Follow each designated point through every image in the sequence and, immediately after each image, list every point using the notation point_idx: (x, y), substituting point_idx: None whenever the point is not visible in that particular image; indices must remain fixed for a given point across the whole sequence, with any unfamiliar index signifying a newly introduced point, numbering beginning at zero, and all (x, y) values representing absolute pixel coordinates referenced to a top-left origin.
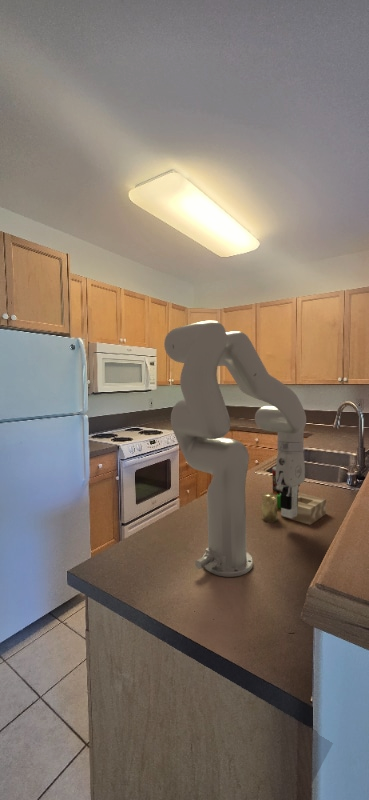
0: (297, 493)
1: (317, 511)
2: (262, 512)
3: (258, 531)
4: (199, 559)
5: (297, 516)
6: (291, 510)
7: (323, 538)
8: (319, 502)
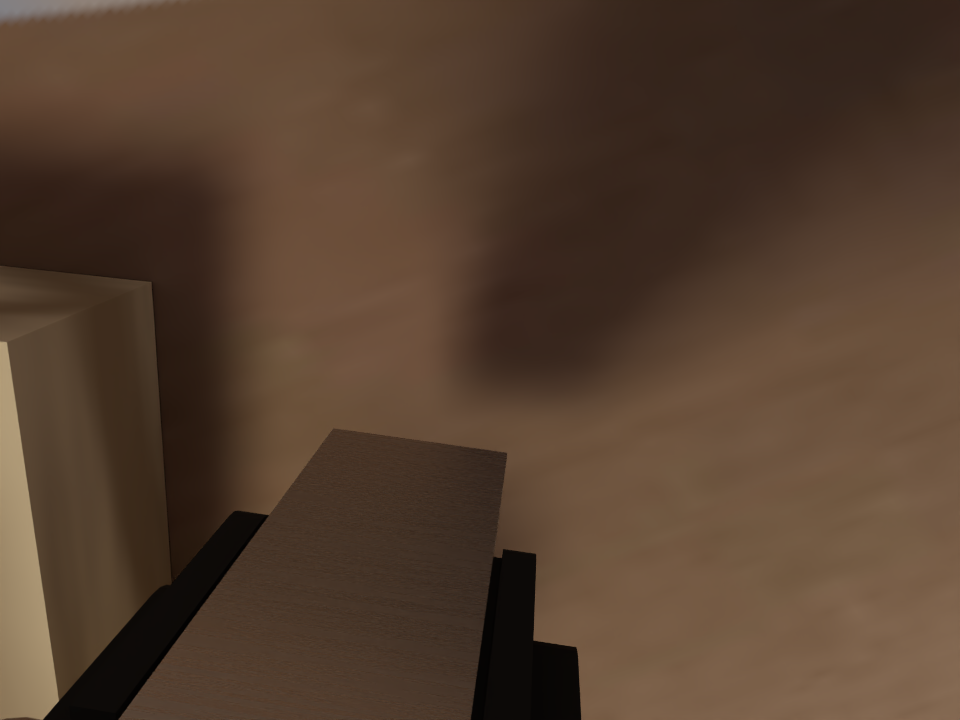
0: (72, 716)
1: None
2: None
3: (663, 644)
4: None
5: (130, 459)
6: (497, 524)
7: (406, 3)
8: None
